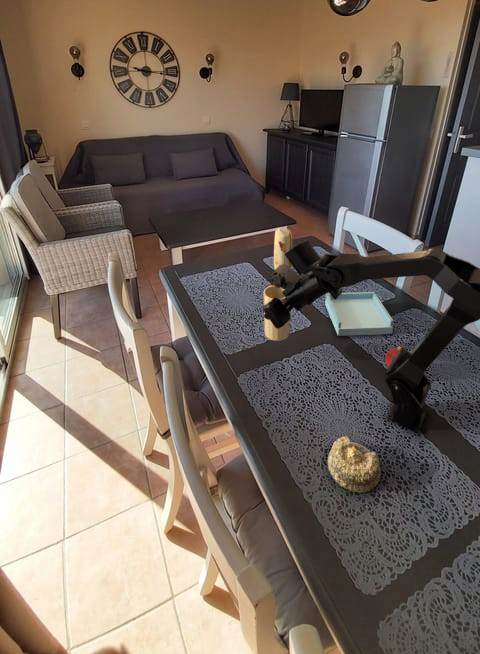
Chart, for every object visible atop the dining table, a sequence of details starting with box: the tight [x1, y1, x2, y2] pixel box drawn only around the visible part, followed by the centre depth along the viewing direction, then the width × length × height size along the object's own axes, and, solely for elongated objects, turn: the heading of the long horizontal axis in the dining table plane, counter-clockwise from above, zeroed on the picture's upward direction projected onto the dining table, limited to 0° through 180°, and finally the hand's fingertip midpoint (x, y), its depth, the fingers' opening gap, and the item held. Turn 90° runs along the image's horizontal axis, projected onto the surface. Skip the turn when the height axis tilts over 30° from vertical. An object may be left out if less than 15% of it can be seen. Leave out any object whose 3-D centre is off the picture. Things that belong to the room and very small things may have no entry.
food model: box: [273, 227, 293, 270], centre depth 134 cm, size 10×7×20 cm
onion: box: [384, 345, 403, 369], centre depth 91 cm, size 6×6×8 cm
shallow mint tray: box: [324, 291, 394, 337], centre depth 113 cm, size 16×16×4 cm
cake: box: [327, 435, 382, 494], centre depth 69 cm, size 10×10×5 cm
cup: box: [263, 284, 291, 342], centre depth 95 cm, size 7×7×13 cm
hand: (272, 310), depth 96 cm, fingers closed on cup, 7 cm apart
